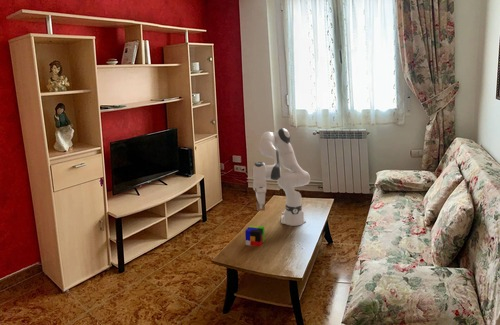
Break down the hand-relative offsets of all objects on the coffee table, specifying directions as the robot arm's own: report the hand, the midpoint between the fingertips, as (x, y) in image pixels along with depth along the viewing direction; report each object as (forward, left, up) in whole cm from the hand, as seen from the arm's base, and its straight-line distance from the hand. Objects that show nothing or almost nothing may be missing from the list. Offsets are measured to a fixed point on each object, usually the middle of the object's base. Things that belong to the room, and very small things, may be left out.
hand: (260, 207), depth 276 cm
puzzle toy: (+3, -4, -24) cm, 25 cm away
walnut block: (0, 0, -2) cm, 2 cm away
